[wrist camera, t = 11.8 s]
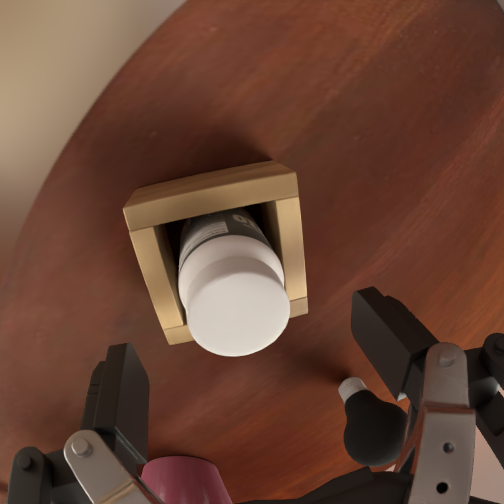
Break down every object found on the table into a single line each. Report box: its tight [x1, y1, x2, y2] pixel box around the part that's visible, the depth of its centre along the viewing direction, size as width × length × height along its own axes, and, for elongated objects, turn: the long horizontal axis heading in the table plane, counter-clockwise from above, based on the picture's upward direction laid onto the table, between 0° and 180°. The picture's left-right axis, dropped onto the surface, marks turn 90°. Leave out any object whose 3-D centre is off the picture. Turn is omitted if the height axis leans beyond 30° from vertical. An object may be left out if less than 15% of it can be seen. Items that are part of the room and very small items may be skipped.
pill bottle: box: [178, 207, 290, 356], centre depth 15 cm, size 5×5×8 cm
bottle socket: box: [123, 160, 308, 345], centre depth 17 cm, size 8×8×4 cm
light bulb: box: [338, 377, 407, 467], centre depth 23 cm, size 6×6×10 cm
